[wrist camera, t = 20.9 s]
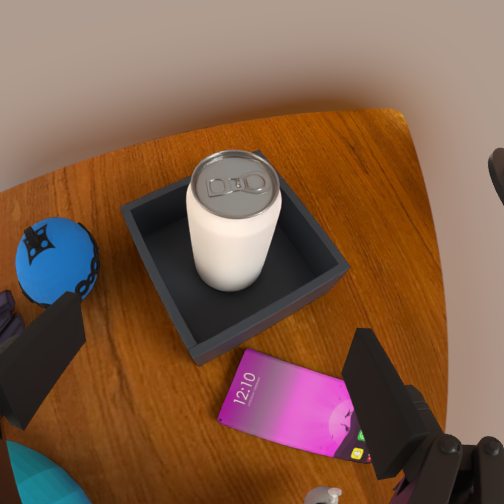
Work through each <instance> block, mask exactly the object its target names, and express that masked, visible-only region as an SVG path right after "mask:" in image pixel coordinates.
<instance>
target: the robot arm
mask: <svg viewBox="0 0 504 504" xmlns="http://www.w3.org/2000/svg"><path fill="white" fill-rule="evenodd" d="M85 341H86V338H85V332H84V326H83V320H82V313H81V305H80V297H79V293H74V292H69V291H66V292H65V293H63V294H62V295H61V296H60V297H59V298H58V299H57V300H56V301H55V302H54V303H52V304H51V305H50V306H49V307H48V308H47V309H46V310H45V311H44V312H43V313H42V314H41V315H40V316H39V317H37V318H36V319H35V320H34V321H33V322H32V323H31V324H30V325H29V326H28V327H27V328H26V329H25V330H24V331H23V332H22V333H21V334H20V335H19V336H18V335H14V336H12V337H10V338H9V339H7V340H6V341H4V342H3V343H2V344H1V345H0V504H22V501H21V498H20V495H19V492H18V488H17V485H16V481H15V477H14V474H13V470H12V466H11V461H10V457H9V452H8V447H7V442H6V437H5V431H4V425H3V423H2V420H1V418H2V417H3V415H4V414H5V416H6V418H7V420H8V421H9V423H10V424H11V425H13V426H15V427H17V428H19V429H21V430H23V431H24V430H25V428H26V427H27V425H28V423H29V422H30V420H31V419H32V417H33V416H34V414H35V413H36V411H37V410H38V408H39V407H40V405H41V404H42V402H43V401H44V399H45V398H46V396H47V395H48V393H49V392H50V390H51V389H52V387H53V386H54V384H55V383H56V382H57V380H58V379H59V377H60V376H61V374H62V373H63V372H64V370H65V369H66V367H67V366H68V365H69V363H70V362H71V360H72V359H73V358H74V356H75V355H76V354H77V352H78V351H79V349H80V348H81V347H82V345H83V344H84V343H85ZM341 374H342V377H343V379H344V382H345V385H346V388H347V391H348V393H349V396H350V399H351V402H352V405H353V408H354V410H355V413H356V416H357V419H358V422H359V425H360V428H361V431H362V434H363V437H364V440H365V443H366V446H367V449H368V452H369V455H370V458H371V461H372V464H373V467H374V470H375V473H376V476H377V479H378V480H381V479H387V478H392V477H396V475H397V474H398V473H399V472H400V471H401V470H402V469H403V471H404V474H405V476H404V477H403V479H402V480H401V481H400V482H399V483H398V484H397V485H396V486H395V487H394V489H393V490H396V489H397V490H396V492H395V494H394V496H393V497H392V499H391V501H390V503H389V504H504V448H503V445H502V444H501V442H500V441H499V440H497V439H496V438H494V437H490V436H487V437H484V438H482V439H481V440H480V441H479V443H478V444H477V445H462V444H461V442H460V441H459V440H458V439H457V438H456V437H454V436H452V435H449V434H444V433H443V431H442V429H441V428H440V426H439V424H438V422H437V420H436V419H435V417H434V415H433V413H432V412H431V410H429V406H428V405H427V403H425V400H424V398H423V396H422V394H421V393H420V392H419V391H418V390H417V389H416V388H415V387H414V386H412V385H404V384H403V382H402V380H401V378H400V377H399V375H398V373H397V371H396V370H395V368H394V366H393V364H392V363H391V361H390V359H389V358H388V356H387V354H386V352H385V351H384V349H383V347H382V346H381V344H380V342H379V341H378V339H377V337H376V336H375V334H374V332H373V331H372V329H370V328H357V329H356V332H355V335H354V338H353V341H352V344H351V347H350V350H349V353H348V356H347V358H346V361H345V364H344V367H343V370H342V372H341Z"/></svg>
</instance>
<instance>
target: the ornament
mask: <svg viewBox="0 0 504 504" xmlns="http://www.w3.org/2000/svg"><path fill="white" fill-rule="evenodd" d="M24 233H25V234H24V236H23V237H22V239H21V241H20V243H19V246H18V249H17V254H16V271H17V276H18V280H19V285H20V287H21V289H22V293H23V294H24V295H25V297H26V298H27V299H29V300H30V301H31V302H32V303H36V304H38V305H40V307H42V308H44V309H47V308H48V307H49V306H50V305H51V304H52V303H54V302H55V301H56V300H57V299H58V298H59V297H60V296H61V295H62V294H63V293H65V292H66V291H69V292H74V293H79V297H80V303H81V302H82V300H83V299H84V298H85V297H86V296H87V295H88V293H89V292H90V291H91V289H92V287H93V285H94V283H95V280H96V278H97V274H98V273H99V269H100V261H99V253H98V250H99V247H98V245H97V243H96V241H95V239H94V238H93V236H92V234H91V233H90V232H89V231H88V230H87V229H86V228H85V227H84V226H83V225H82V224H81V223H78V224H77V223H75V222H73V221H72V220H69V219H66V218H59V217H53V218H48V219H44V220H42V221H39V222H38V223H36V224H34V225H33V226H32V227H31V226H30V227H28V228H27V229H25V230H24Z"/></svg>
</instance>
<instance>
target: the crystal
mask: <svg viewBox="0 0 504 504" xmlns="http://www.w3.org/2000/svg"><path fill="white" fill-rule="evenodd" d="M14 307H15V301H14V298H13V296H12V293H11V291H10V290H5V291H3V292H1V293H0V345H1V344H2V343H3V342H4V341H6V340H7V339H9V338H10V337H12V336H14V335H18V336H19V335H20V334H21V333H22V332H23V331H24V330H25V327H24V322H23V319H22V317H21V316H20V314H19V312H18V313H16V314H15V315H14V316H12V314H11V312H13V311H14Z"/></svg>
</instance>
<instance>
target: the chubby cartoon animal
mask: <svg viewBox="0 0 504 504" xmlns="http://www.w3.org/2000/svg"><path fill="white" fill-rule="evenodd" d="M338 495H341V490H340V489H339V488H331V487H328V486H318V487H315V488H313V489H311V490H310V491H309V492H308V493H307V495H306V497H305V500H304V503H303V504H338Z"/></svg>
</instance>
